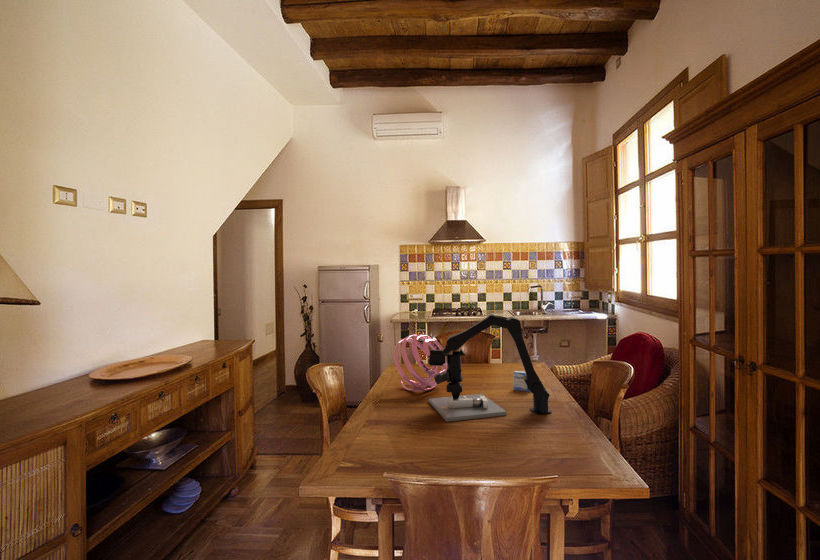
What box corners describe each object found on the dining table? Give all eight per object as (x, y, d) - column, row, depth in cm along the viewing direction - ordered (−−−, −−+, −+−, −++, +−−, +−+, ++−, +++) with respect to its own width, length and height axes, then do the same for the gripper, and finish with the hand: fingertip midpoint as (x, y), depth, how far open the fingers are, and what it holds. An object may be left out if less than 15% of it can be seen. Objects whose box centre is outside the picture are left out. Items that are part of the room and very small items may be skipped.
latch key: (483, 402, 180) (483, 395, 180) (488, 408, 173) (488, 400, 173) (446, 404, 179) (446, 397, 178) (449, 409, 172) (449, 402, 171)
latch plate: (506, 415, 169) (506, 411, 169) (446, 421, 164) (446, 417, 164) (481, 396, 194) (481, 393, 194) (428, 402, 188) (428, 398, 188)
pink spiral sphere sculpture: (373, 348, 214) (408, 320, 200) (411, 353, 233) (446, 328, 219) (387, 401, 199) (426, 375, 185) (427, 401, 218) (465, 378, 204)
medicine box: (513, 390, 204) (512, 372, 203) (515, 387, 208) (515, 369, 207) (530, 391, 200) (529, 373, 200) (532, 389, 204) (531, 371, 204)
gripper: (436, 360, 187) (437, 395, 188) (433, 371, 169) (434, 410, 169) (461, 360, 186) (462, 395, 187) (461, 371, 167) (462, 410, 168)
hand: (455, 402), depth 178 cm, fingers closed
